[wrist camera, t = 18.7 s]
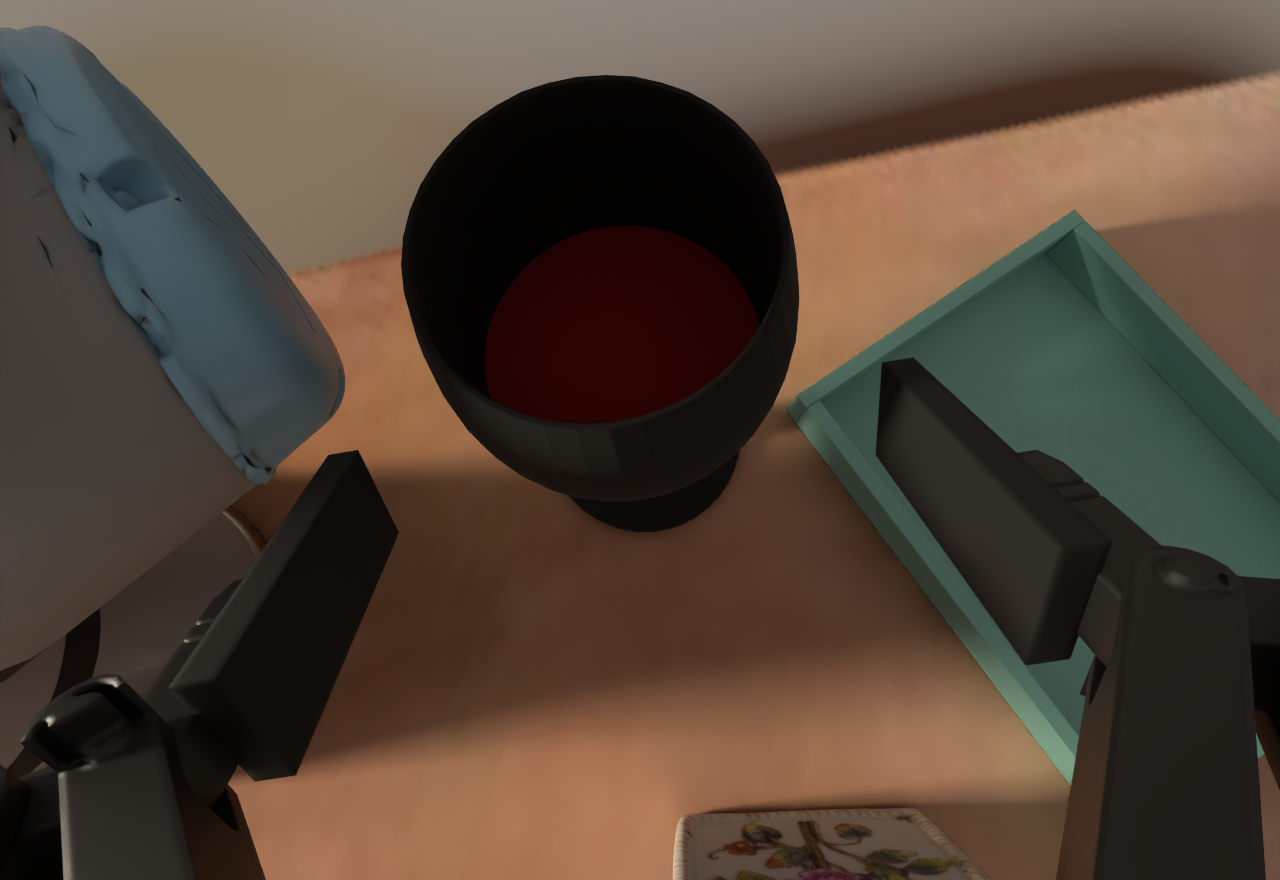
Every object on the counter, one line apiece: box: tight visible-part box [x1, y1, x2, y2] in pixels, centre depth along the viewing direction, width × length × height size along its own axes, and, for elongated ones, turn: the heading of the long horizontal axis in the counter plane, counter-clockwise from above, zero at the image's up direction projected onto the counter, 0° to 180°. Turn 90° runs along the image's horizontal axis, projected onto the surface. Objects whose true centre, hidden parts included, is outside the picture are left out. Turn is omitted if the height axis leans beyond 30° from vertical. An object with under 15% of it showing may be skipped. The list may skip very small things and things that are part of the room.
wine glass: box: [401, 75, 799, 532], centre depth 23 cm, size 10×10×20 cm
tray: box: [787, 210, 1280, 786], centre depth 29 cm, size 24×18×3 cm
